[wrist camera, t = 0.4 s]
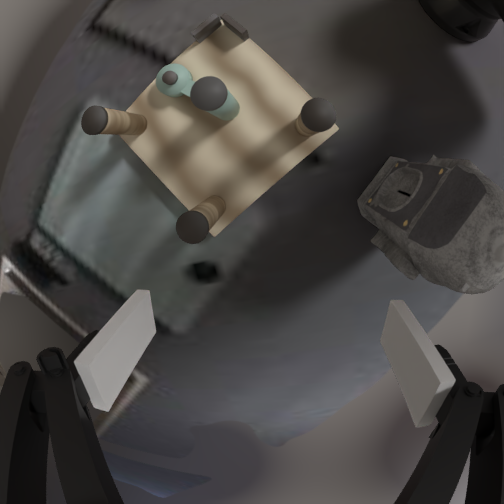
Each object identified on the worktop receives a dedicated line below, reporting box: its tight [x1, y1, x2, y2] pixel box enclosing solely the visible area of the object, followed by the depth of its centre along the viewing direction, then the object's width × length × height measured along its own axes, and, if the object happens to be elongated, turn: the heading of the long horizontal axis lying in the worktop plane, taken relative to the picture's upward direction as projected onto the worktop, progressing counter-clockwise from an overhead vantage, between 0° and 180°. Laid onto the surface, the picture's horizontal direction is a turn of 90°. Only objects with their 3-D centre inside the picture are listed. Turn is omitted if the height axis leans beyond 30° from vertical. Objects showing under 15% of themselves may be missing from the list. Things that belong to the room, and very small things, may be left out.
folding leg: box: [156, 63, 240, 121], centre depth 28 cm, size 12×4×11 cm, turn 57°
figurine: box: [357, 155, 504, 294], centre depth 27 cm, size 10×14×25 cm
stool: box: [81, 13, 339, 244], centre depth 31 cm, size 22×22×14 cm
